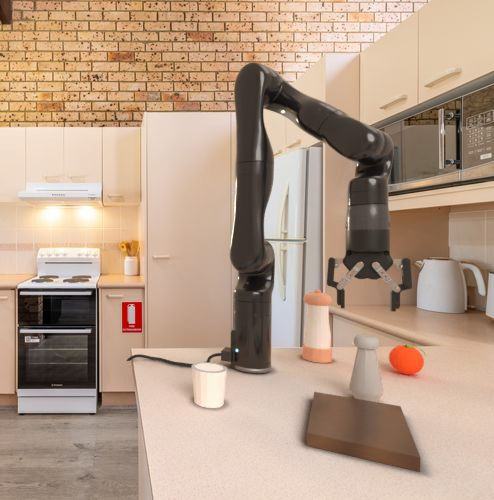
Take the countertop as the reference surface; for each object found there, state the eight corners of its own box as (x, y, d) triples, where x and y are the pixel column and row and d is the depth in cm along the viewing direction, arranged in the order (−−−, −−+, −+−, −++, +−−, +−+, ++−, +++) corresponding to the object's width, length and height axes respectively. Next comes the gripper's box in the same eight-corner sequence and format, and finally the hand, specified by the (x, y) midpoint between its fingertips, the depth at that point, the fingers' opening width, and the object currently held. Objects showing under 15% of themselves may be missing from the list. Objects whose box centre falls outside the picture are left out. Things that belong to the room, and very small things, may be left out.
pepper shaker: (320, 364, 103) (321, 291, 103) (296, 357, 109) (297, 288, 109) (337, 360, 106) (338, 290, 106) (313, 354, 113) (314, 287, 112)
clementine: (416, 370, 98) (416, 342, 98) (435, 379, 91) (436, 349, 91) (382, 369, 99) (382, 341, 99) (399, 378, 92) (399, 347, 92)
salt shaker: (388, 407, 75) (389, 339, 75) (355, 404, 76) (356, 338, 76) (375, 396, 81) (376, 333, 81) (344, 393, 82) (345, 331, 82)
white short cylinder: (227, 398, 79) (228, 363, 79) (225, 411, 72) (225, 374, 72) (193, 393, 81) (194, 360, 81) (188, 406, 75) (188, 370, 75)
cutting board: (306, 445, 60) (306, 432, 60) (314, 401, 78) (314, 391, 78) (420, 471, 53) (420, 457, 53) (400, 417, 71) (400, 406, 71)
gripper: (408, 228, 78) (407, 309, 78) (327, 230, 85) (327, 304, 85) (414, 226, 71) (414, 315, 72) (326, 228, 78) (326, 309, 78)
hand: (367, 309), depth 78 cm, fingers open, 8 cm apart
